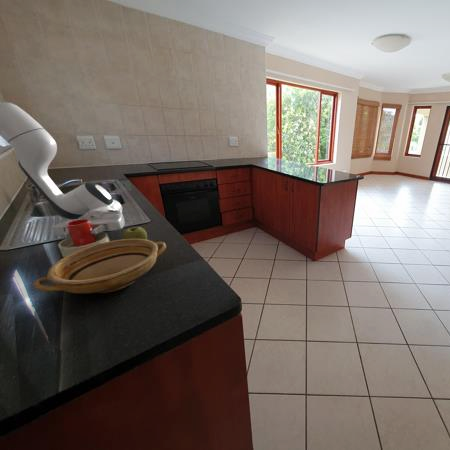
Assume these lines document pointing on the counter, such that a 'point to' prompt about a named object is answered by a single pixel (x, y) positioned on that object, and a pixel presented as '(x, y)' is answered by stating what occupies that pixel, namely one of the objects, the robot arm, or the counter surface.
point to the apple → (134, 233)
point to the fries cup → (80, 232)
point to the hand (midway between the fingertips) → (80, 233)
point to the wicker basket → (102, 267)
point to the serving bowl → (68, 246)
